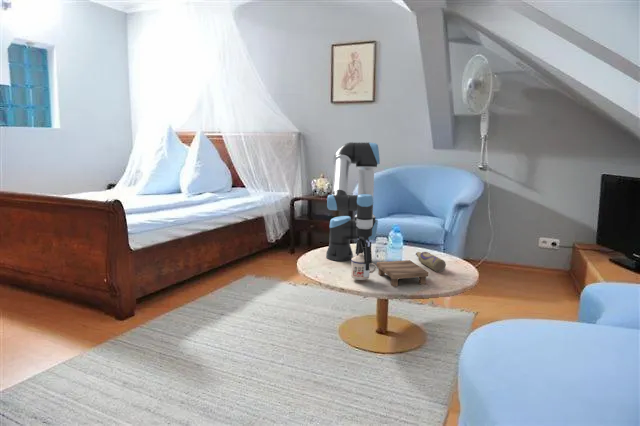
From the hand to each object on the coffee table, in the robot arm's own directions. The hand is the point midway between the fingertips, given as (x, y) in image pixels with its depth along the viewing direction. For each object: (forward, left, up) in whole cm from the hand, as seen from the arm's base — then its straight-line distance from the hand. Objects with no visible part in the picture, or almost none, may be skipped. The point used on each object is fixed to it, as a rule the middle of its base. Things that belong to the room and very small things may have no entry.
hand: (362, 272), depth 206 cm
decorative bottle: (-15, +43, -4) cm, 46 cm away
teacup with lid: (0, 0, -2) cm, 2 cm away
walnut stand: (+2, +19, -4) cm, 19 cm away
